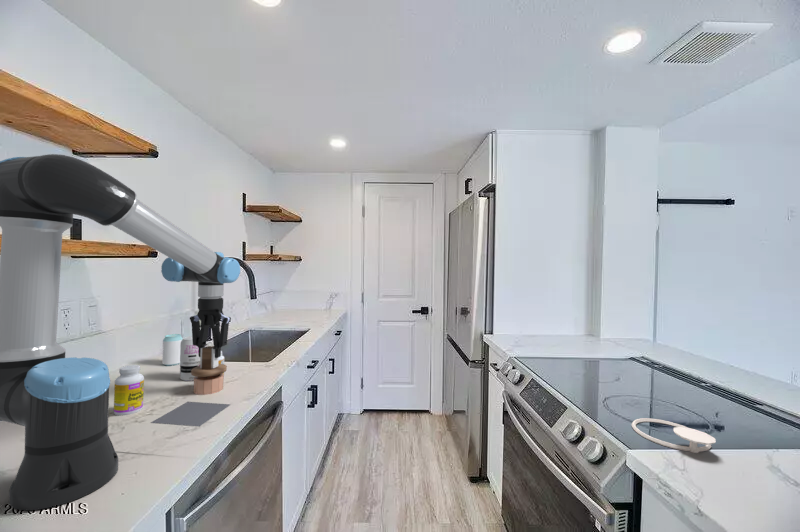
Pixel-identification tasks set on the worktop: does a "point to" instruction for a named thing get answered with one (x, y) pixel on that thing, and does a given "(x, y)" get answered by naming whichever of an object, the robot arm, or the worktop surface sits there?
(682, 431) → the hand towel holder
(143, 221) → the robot arm
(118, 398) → the supplement bottle
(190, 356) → the supplement can
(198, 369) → the lid
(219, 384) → the bowl
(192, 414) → the mat
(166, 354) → the can
